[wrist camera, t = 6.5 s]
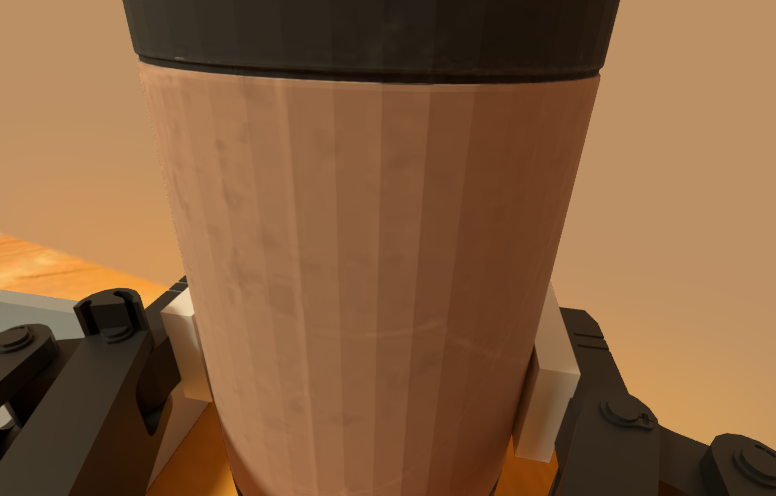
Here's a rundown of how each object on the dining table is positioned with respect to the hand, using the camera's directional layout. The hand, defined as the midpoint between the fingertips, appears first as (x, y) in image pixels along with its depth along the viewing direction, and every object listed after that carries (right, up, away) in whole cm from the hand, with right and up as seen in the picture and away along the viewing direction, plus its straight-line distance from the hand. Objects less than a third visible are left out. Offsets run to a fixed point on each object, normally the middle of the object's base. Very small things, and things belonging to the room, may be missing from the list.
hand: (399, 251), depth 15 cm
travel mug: (-1, -12, +1) cm, 12 cm away
